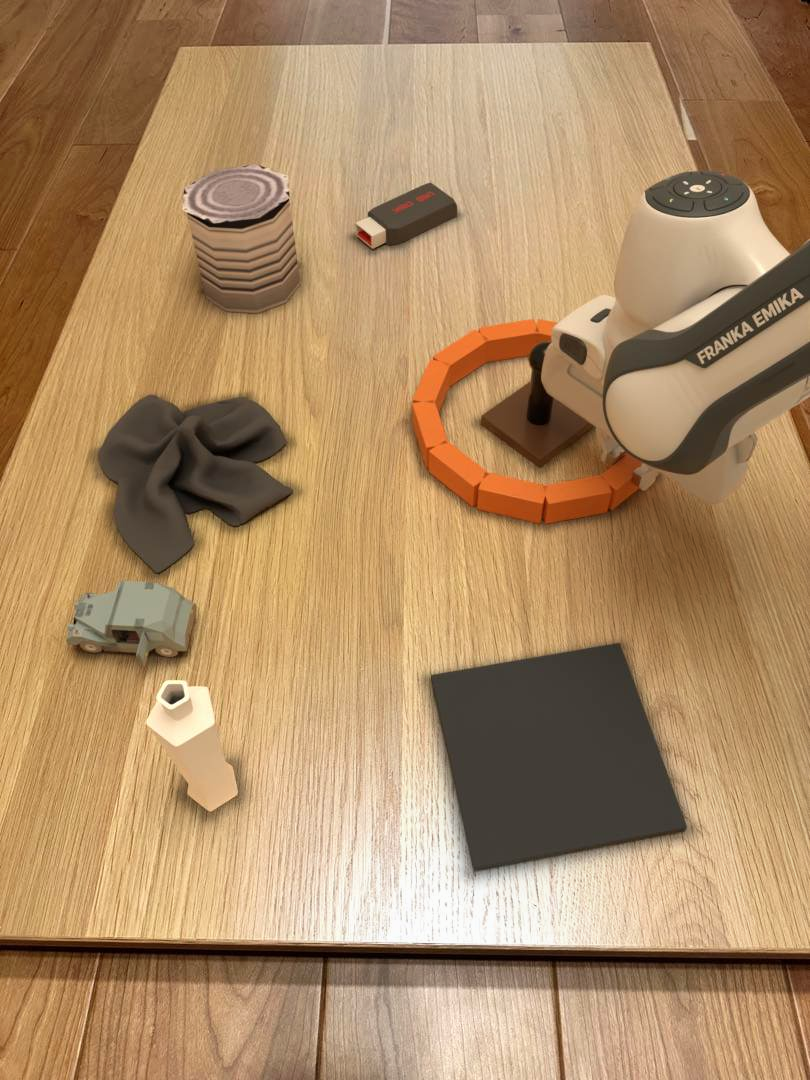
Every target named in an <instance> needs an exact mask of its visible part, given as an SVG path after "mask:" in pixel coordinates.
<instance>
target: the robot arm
mask: <svg viewBox="0 0 810 1080" xmlns="http://www.w3.org/2000/svg"><path fill="white" fill-rule="evenodd" d="M631 211H632V212H631V214H630V217H629V219H628V221H627V224H626V228H625V230H624V234H623V238H622V241H621V244H620V245H621V246H620V249H619V252H618V258H617V263H616V267H615V272H614V280H613V292H614V296H611V295H607V294H600V295H598V296H596V297H594V298H591V299H590V300H588V301H587V302H585V303H582V304H581V305H580V306H579V307H577V308H575V309H573V311H571V312H570V313H568V314H567V315H566V316H564V317H563V318H562V319H561V320H559V321H557V324H556V325H555V326H554V327H553V328H552V332H551V341H552V343H551V344H550V345H549V346H548V348H547V350H546V353H545V357H544V361H543V366H542V373H541V381H542V384H543V386H544V388H545V390H546V392H547V393H548V394H549V395H550V396H552V397H553V398H555V399H556V400H558V401H559V402H561V403H562V404H564V405H565V406H566V407H568V408H569V409H571V410H572V411H574V412H575V413H576V414H578V415H579V416H581V417H582V418H584V419H585V420H586V421H588V422H589V423H591V424H592V425H594V427H595V434H596V437H597V440H598V442H599V445H600V448H601V450H602V453H601V458H600V461H601V462H602V463H604V465H607V466H608V468H610V467H611V466H613V465H614V464H615V463H616V462H618V461H619V460H620V459H621V458H623V457H624V456H625V455H627V454H629V455H631V456H632V457H634V458H635V459H637V460H639V461H640V462H642V463H643V464H642V465H641V467H638V468H637V469H636V470H634V471H633V474H632V477H633V478H632V480H631V482H632V483H633V484H634V485H636V486H637V487H638V488H639V490H641V491H643V492H645V491H647V490H648V489H649V488H650V487H651V486H652V485H653V484H654V483H655V481H656V479H657V476H659V475H660V474H663V475H664V477H667V478H668V479H669V480H671V481H672V482H674V483H675V484H677V486H680V487H681V488H682V489H684V490H686V491H687V492H688V493H690V494H691V495H693V497H695V498H697V499H698V500H699V501H701V502H703V503H704V504H706V505H707V506H716V505H720V504H723V503H725V502H726V501H727V500H728V499H730V498H731V497H732V496H733V495H734V494H735V493H736V492H737V491H739V489H740V488H741V487H742V485H743V483H744V481H745V478H746V475H747V471H748V467H749V463H750V459H751V458H752V456H753V453H754V451H755V448H756V447H757V443H758V436H757V434H756V432H757V431H759V430H760V429H762V428H764V427H765V426H766V425H768V424H769V423H772V422H773V421H774V420H776V419H777V418H779V417H780V416H782V415H784V414H785V413H787V412H789V410H791V409H793V408H795V407H796V406H797V405H799V404H801V403H803V402H804V401H805V400H807V399H809V398H810V238H809V239H807V240H806V242H804V243H803V244H802V245H800V246H799V247H798V248H797V249H796V250H794V251H793V252H791V253H790V252H789V251H788V250H787V249H786V248H785V247H784V246H783V245H782V244H781V243H780V242H779V240H778V239H777V238H776V237H775V236H774V235H773V232H771V231H770V229H769V228H768V226H767V224H766V223H765V220H764V219H763V217H762V214H761V212H760V208H759V205H758V201H757V198H756V195H755V193H754V191H753V190H752V188H751V187H750V186H749V185H748V184H747V183H746V182H745V181H744V180H741V179H740V178H738V177H736V176H733V175H731V174H727V173H725V172H720V171H716V170H692V171H689V170H687V171H684V172H680V173H677V174H673V175H671V176H668V177H666V178H664V179H662V180H660V181H658V182H656V183H654V184H652V185H651V186H650V187H648V188H646V189H645V190H644V191H643V192H642V194H641V195H640V197H639V198H638V199H637V201H636V203H635V205H634V207H633V209H632V210H631Z"/></svg>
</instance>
